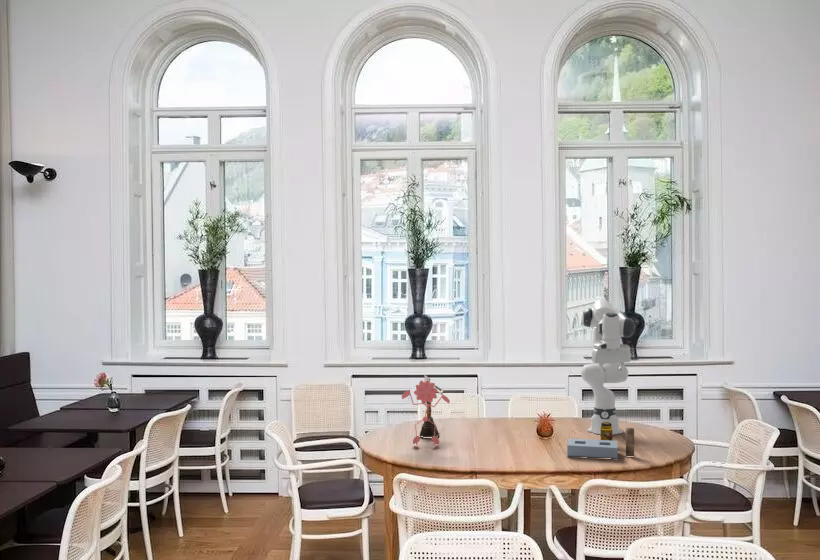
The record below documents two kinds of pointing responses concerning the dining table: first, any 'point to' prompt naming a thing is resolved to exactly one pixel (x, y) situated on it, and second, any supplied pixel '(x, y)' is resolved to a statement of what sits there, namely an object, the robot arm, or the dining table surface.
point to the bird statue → (430, 418)
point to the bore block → (592, 448)
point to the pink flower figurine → (425, 394)
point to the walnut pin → (629, 441)
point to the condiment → (606, 431)
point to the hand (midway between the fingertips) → (611, 371)
